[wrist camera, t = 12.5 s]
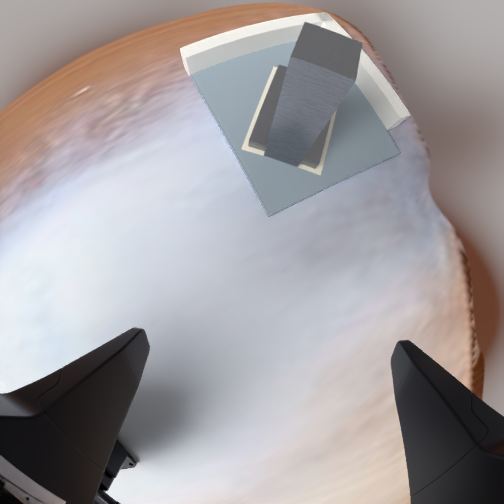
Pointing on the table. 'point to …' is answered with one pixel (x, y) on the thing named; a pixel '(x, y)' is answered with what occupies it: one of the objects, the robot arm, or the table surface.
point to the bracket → (306, 96)
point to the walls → (286, 32)
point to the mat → (276, 172)
